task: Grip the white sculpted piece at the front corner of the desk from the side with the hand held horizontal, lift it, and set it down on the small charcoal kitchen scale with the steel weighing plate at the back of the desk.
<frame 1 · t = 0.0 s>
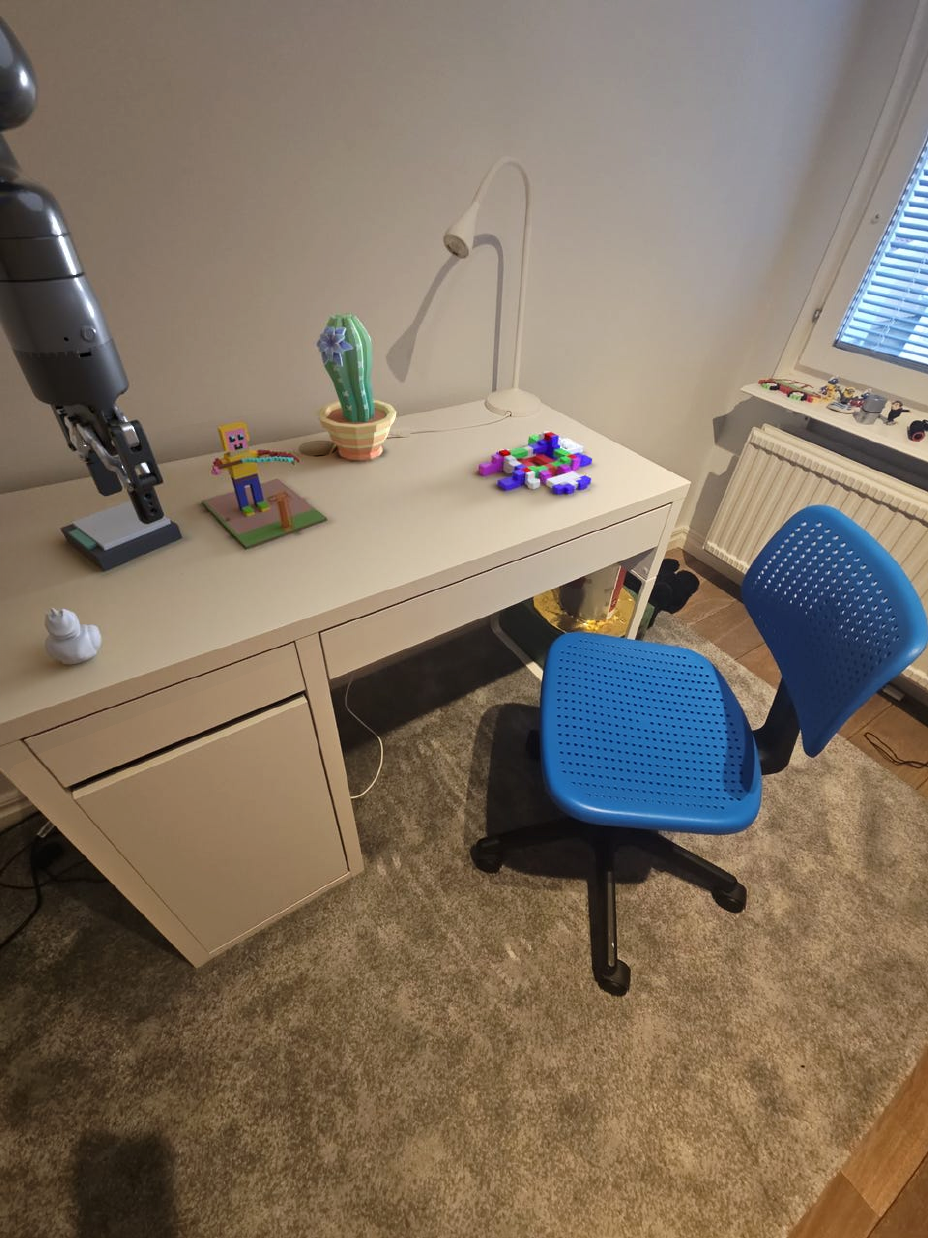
hand: (132, 506, 56), 18 cm above the table, tool pointing down, fingers open, 8 cm apart
scale: (125, 539, 84), on the table
potted cactus: (360, 451, 111), on the table
white sculpted piece: (82, 654, 65), on the table
building block set: (544, 469, 108), on the table
figurine: (263, 512, 92), on the table
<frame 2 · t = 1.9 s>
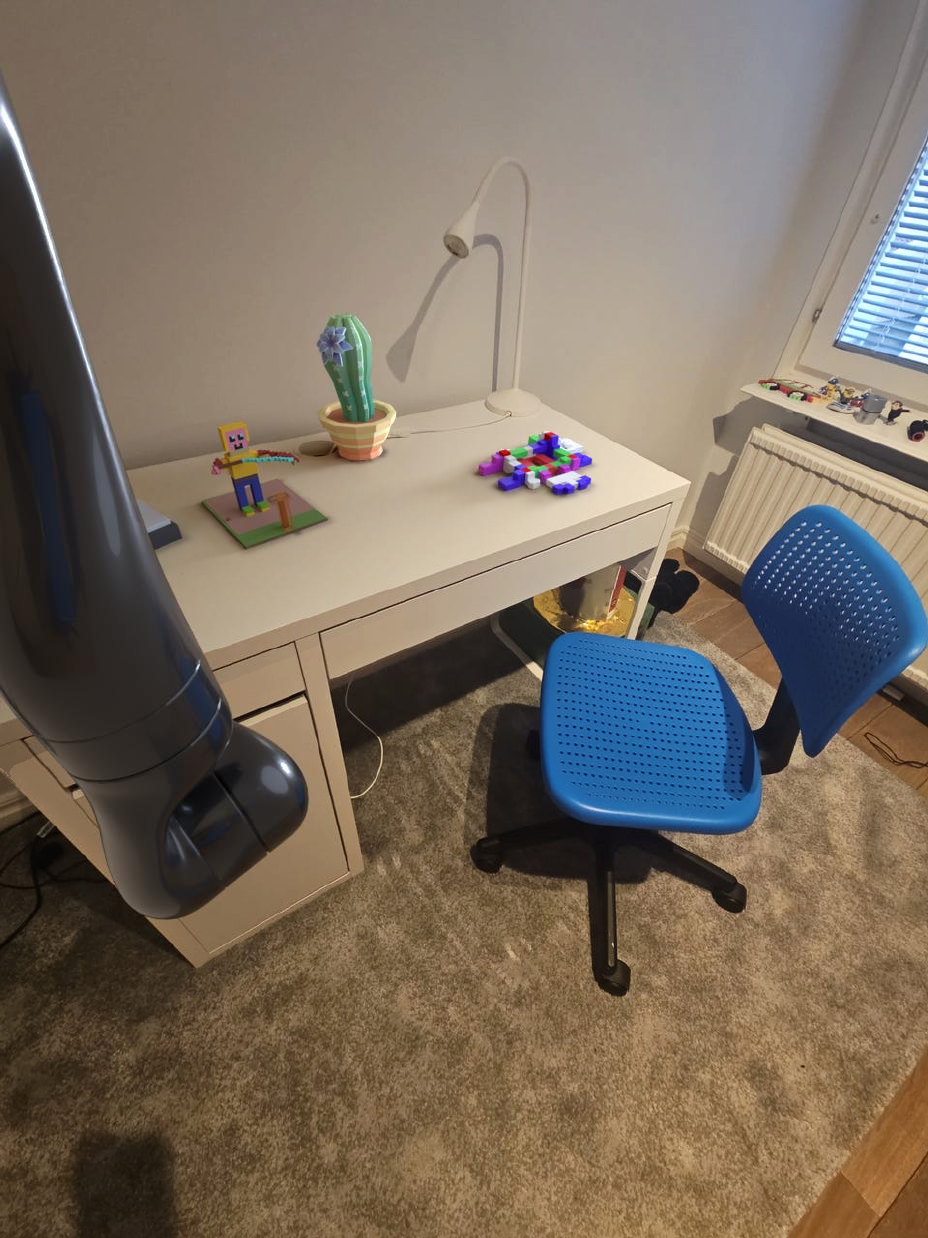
hand: (39, 576, 48), 18 cm above the table, tool horizontal, fingers open, 8 cm apart
nothing on the table moved.
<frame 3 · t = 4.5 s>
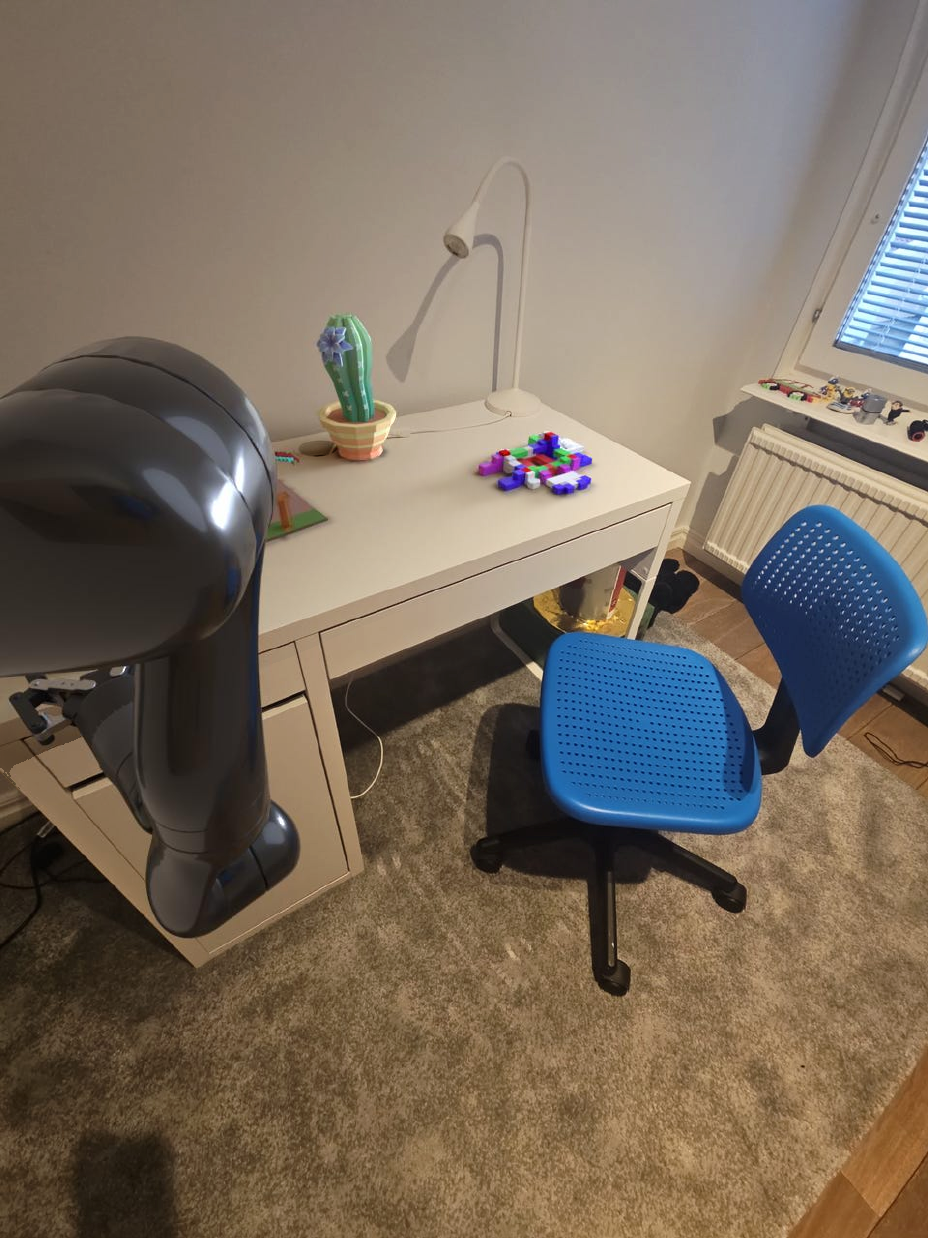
hand: (79, 645, 57), 6 cm above the table, tool horizontal, fingers open, 8 cm apart
nothing on the table moved.
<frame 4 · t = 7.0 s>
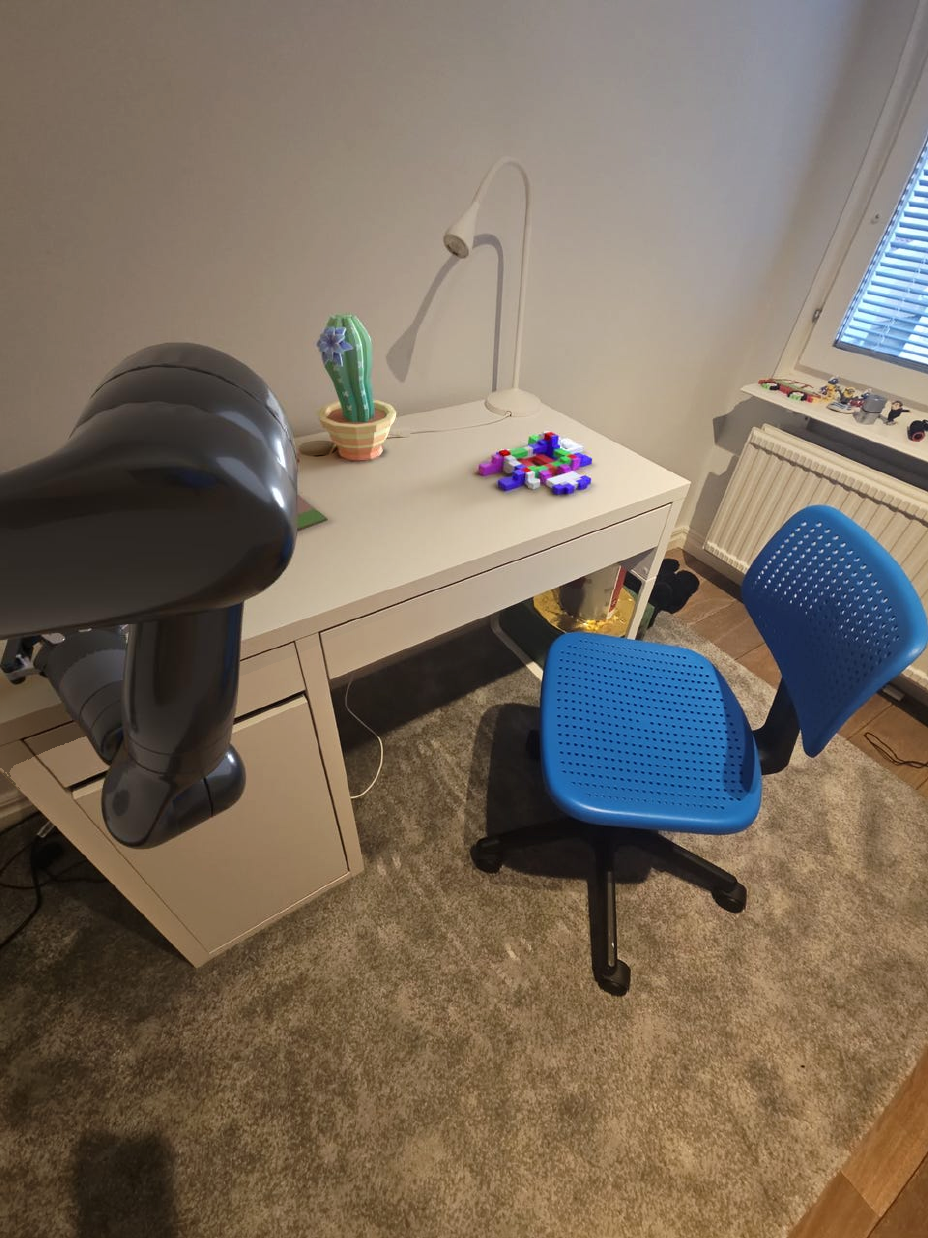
hand: (49, 604, 62), 6 cm above the table, tool horizontal, fingers closed on white sculpted piece, 3 cm apart
white sculpted piece: (82, 654, 65), on the table, touching gripper
everything else where it was.
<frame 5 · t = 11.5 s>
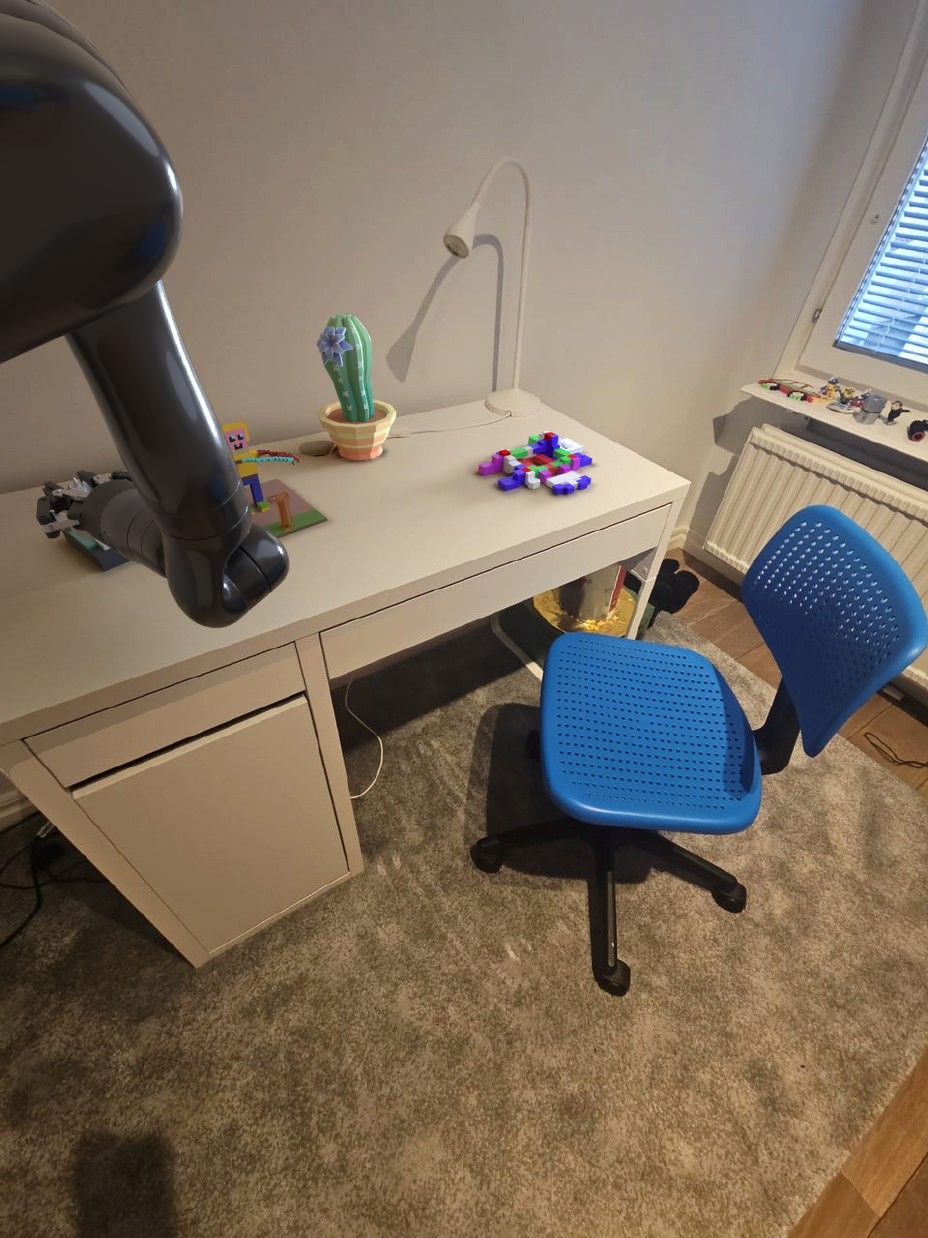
hand: (66, 484, 66), 15 cm above the table, tool horizontal, fingers closed on white sculpted piece, 3 cm apart
white sculpted piece: (101, 535, 68), point 9 cm above the table, touching gripper
everything else where it was.
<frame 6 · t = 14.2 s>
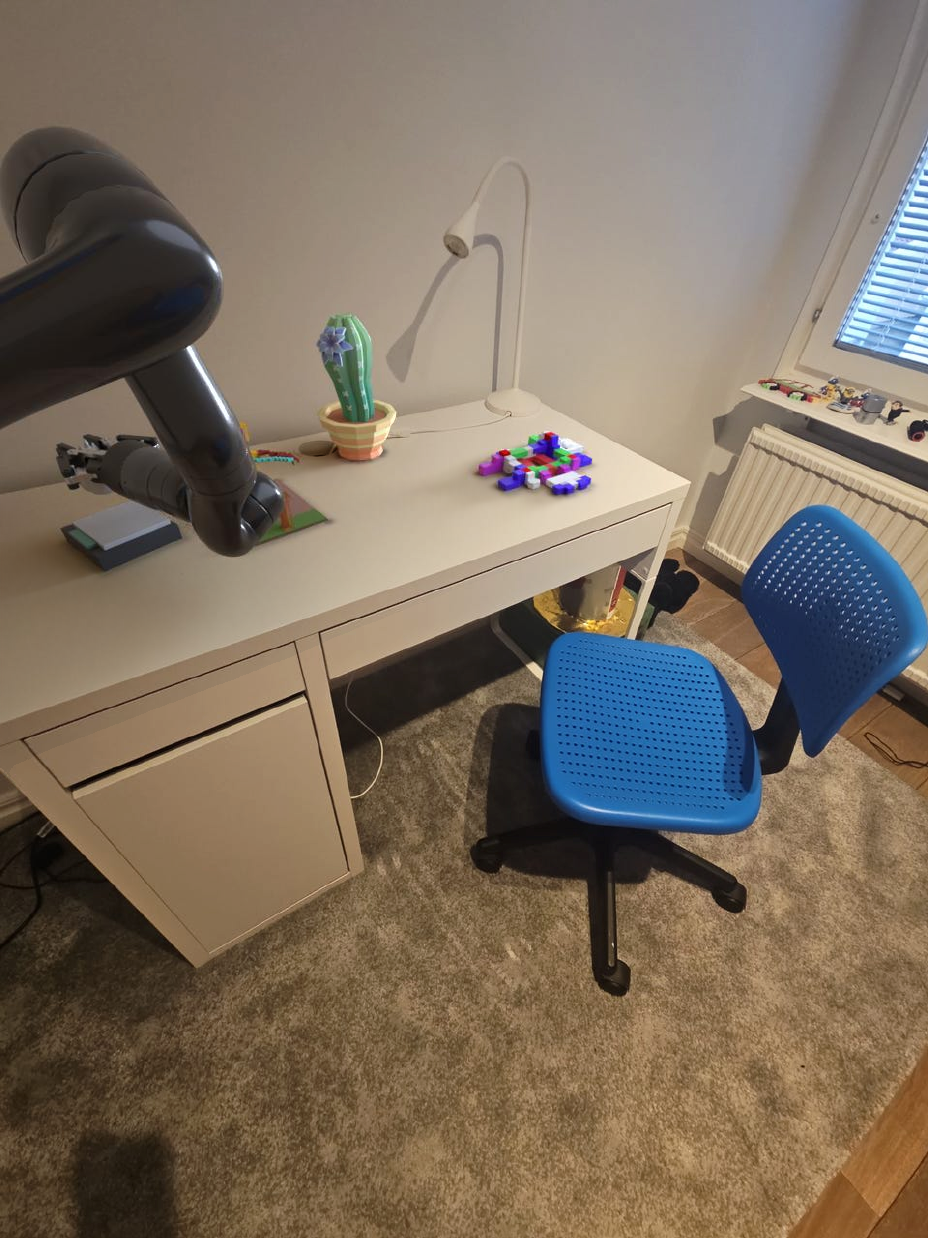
hand: (75, 446, 75), 14 cm above the table, tool horizontal, fingers closed on white sculpted piece, 3 cm apart
white sculpted piece: (106, 491, 78), point 8 cm above the table, touching gripper
everything else where it was.
when the fingers open (9 cm above the table, at t = 15.9 s): white sculpted piece stays where it is, resting on scale.
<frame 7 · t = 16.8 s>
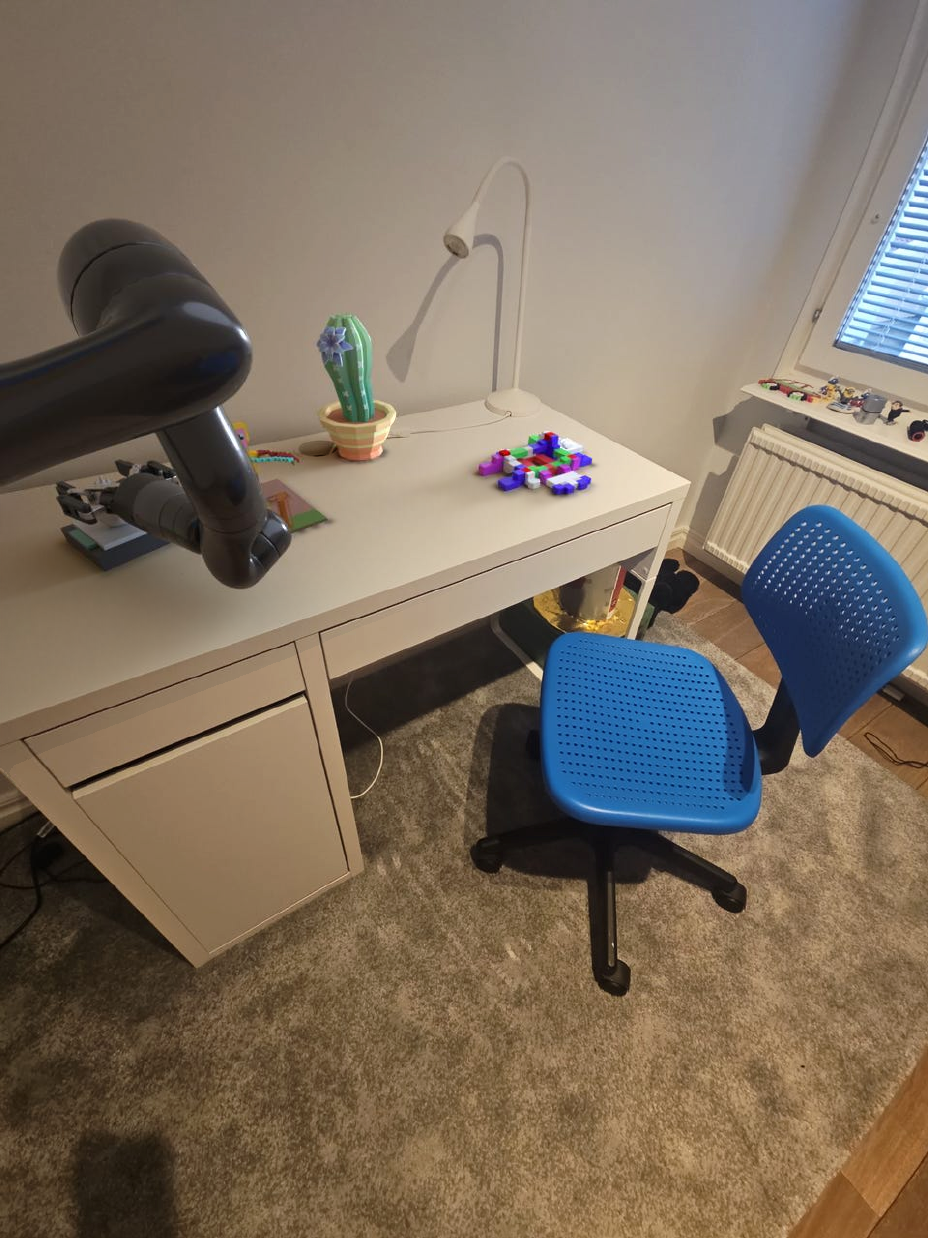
hand: (90, 476, 78), 10 cm above the table, tool horizontal, fingers open, 8 cm apart
white sculpted piece: (119, 522, 82), point 3 cm above the table, touching scale
everything else where it was.
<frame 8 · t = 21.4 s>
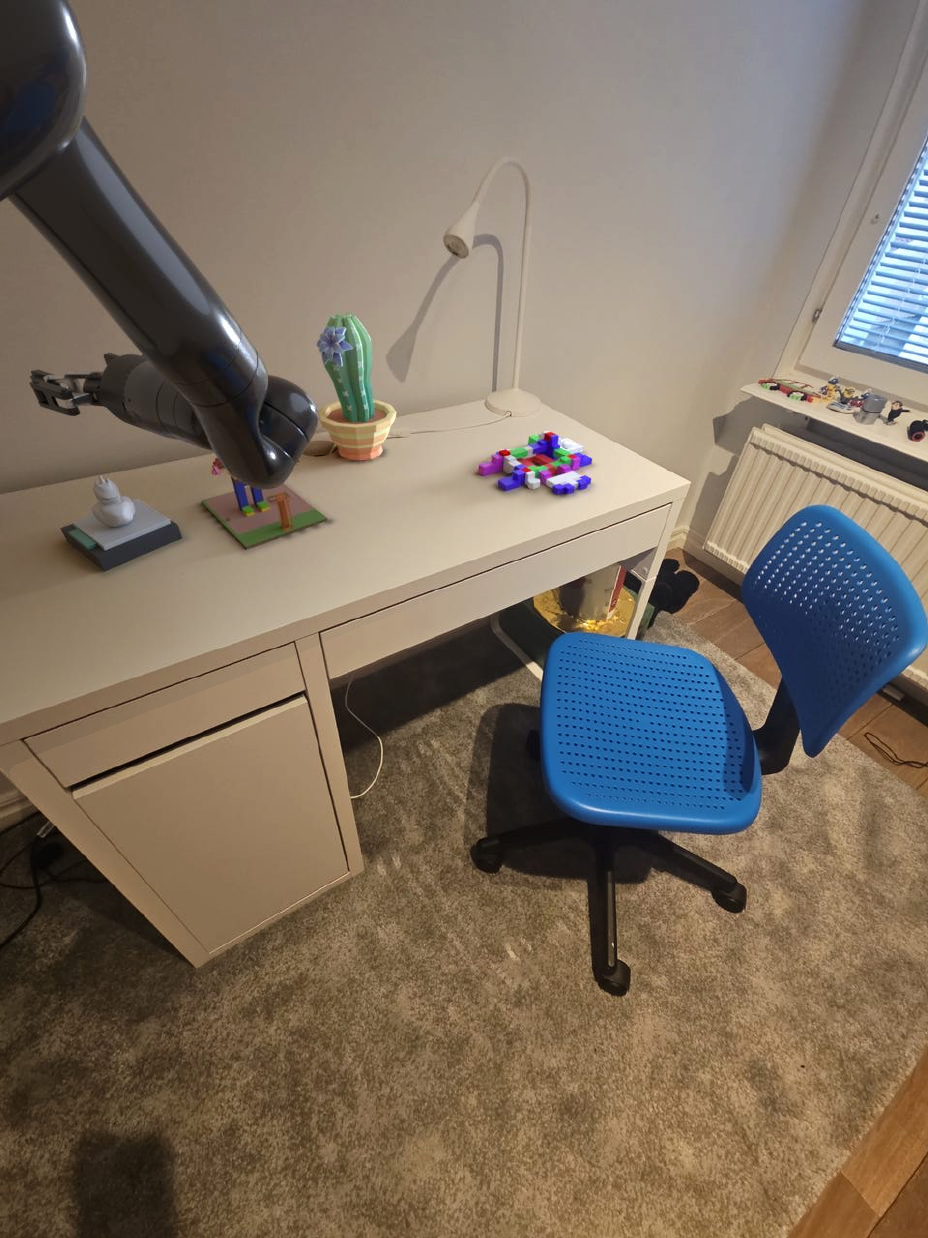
hand: (74, 370, 64), 26 cm above the table, tool horizontal, fingers open, 8 cm apart
nothing on the table moved.
at the end: white sculpted piece inside the target area on the scale (0.2 cm from its centre), point 3.0 cm above the scale's base; white sculpted piece tilted 0°; the gripper is holding nothing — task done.
